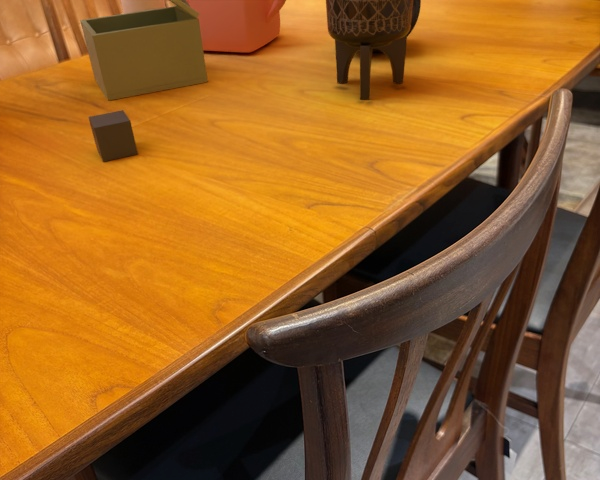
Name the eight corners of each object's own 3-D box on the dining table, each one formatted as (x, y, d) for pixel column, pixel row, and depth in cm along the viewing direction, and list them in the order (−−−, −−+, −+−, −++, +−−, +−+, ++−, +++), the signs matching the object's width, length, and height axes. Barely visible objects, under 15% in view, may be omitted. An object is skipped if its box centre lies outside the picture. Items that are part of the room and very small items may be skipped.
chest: (108, 100, 97) (92, 35, 91) (95, 80, 107) (79, 20, 101) (207, 81, 102) (198, 18, 96) (187, 64, 112) (177, 5, 106)
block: (103, 162, 78) (93, 127, 75) (97, 150, 81) (88, 116, 78) (138, 154, 79) (130, 120, 76) (130, 142, 82) (123, 109, 80)
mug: (133, 43, 126) (119, -22, 119) (174, 39, 127) (163, -26, 120) (128, 58, 117) (113, -11, 110) (173, 54, 118) (161, -15, 110)
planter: (309, 92, 95) (303, -37, 84) (359, 70, 102) (359, -51, 92) (378, 107, 88) (381, -32, 77) (426, 82, 95) (435, -47, 85)
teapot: (274, 57, 111) (268, -28, 103) (171, 52, 119) (157, -28, 110) (313, 31, 126) (310, -46, 118) (219, 27, 133) (210, -45, 125)
